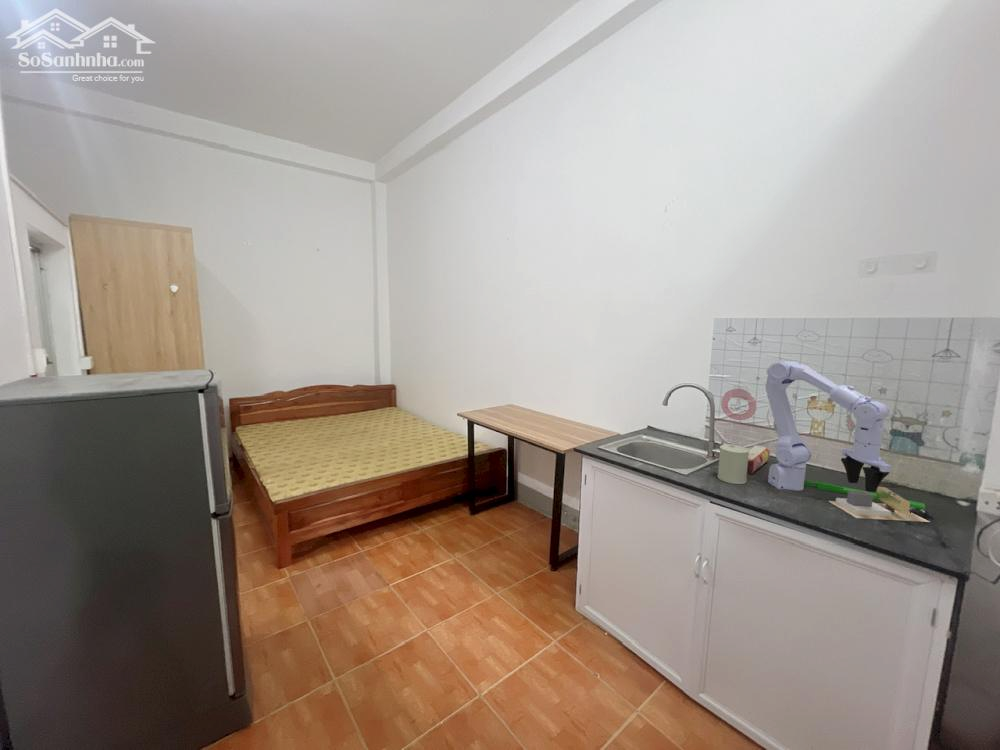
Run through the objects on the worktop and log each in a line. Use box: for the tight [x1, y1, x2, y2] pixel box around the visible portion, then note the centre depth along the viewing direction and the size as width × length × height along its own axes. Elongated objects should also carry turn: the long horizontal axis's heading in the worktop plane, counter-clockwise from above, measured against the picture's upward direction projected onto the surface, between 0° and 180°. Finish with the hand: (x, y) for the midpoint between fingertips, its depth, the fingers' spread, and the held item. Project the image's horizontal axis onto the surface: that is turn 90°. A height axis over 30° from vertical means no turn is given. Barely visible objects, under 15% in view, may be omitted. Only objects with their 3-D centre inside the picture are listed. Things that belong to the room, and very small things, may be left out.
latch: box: [876, 486, 911, 514], centre depth 114 cm, size 11×2×4 cm, turn 162°
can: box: [717, 444, 750, 485], centre depth 141 cm, size 9×9×12 cm
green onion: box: [804, 479, 926, 510], centre depth 125 cm, size 5×3×30 cm
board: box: [828, 500, 931, 523], centre depth 115 cm, size 19×11×3 cm, turn 84°
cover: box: [835, 491, 891, 517], centre depth 115 cm, size 9×8×5 cm
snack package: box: [747, 445, 771, 475], centre depth 155 cm, size 21×7×7 cm, turn 132°
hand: (861, 486), depth 115 cm, fingers open, 6 cm apart
